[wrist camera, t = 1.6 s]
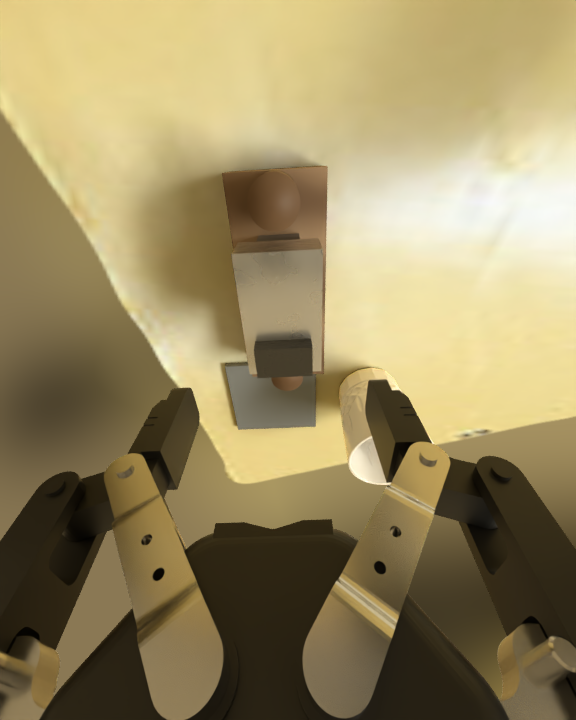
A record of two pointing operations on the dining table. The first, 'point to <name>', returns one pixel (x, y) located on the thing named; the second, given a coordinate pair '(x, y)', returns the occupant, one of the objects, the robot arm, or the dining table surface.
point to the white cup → (361, 425)
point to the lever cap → (280, 305)
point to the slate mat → (270, 401)
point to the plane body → (279, 217)
